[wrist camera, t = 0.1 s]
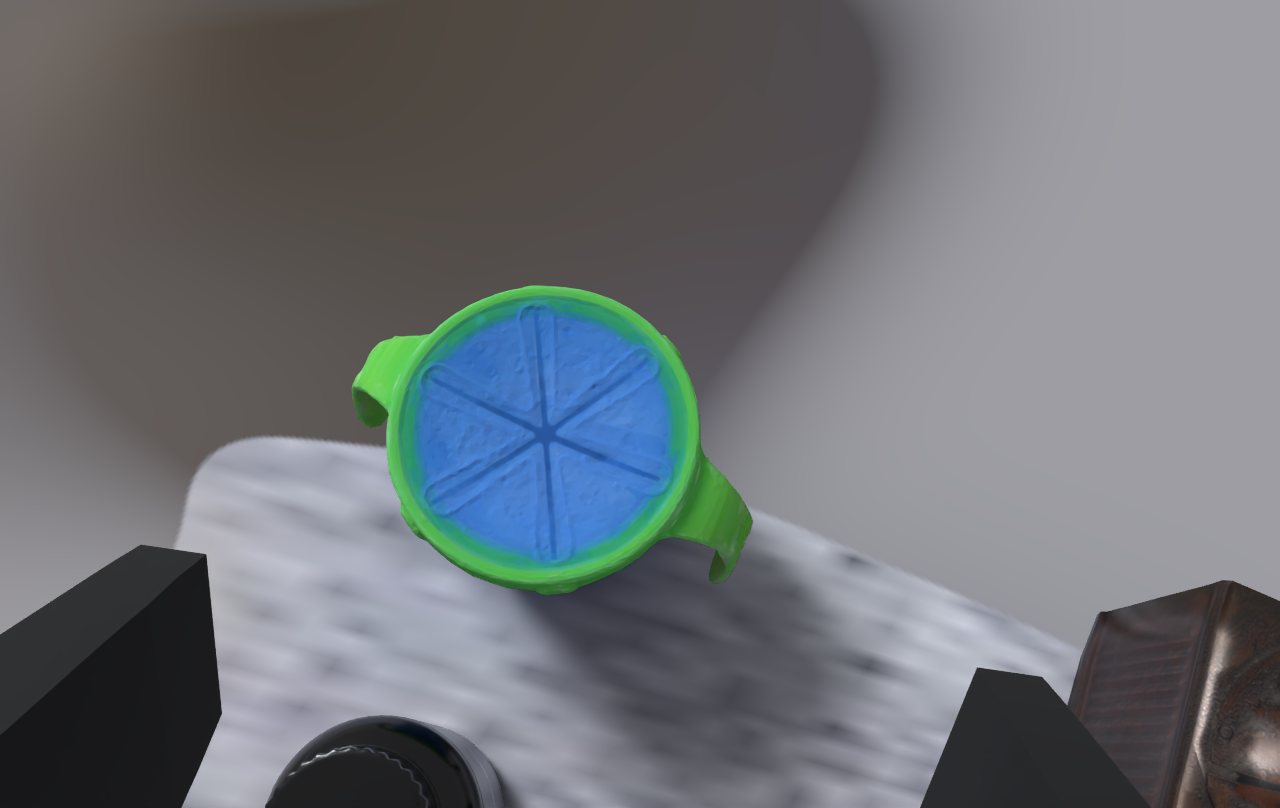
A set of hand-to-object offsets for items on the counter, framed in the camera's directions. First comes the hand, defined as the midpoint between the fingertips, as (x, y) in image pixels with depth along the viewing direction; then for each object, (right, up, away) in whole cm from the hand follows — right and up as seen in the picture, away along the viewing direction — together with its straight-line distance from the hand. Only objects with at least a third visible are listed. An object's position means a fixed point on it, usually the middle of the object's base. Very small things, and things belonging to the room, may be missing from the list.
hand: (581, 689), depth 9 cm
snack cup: (-3, -1, +33) cm, 34 cm away
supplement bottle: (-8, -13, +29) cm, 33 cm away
